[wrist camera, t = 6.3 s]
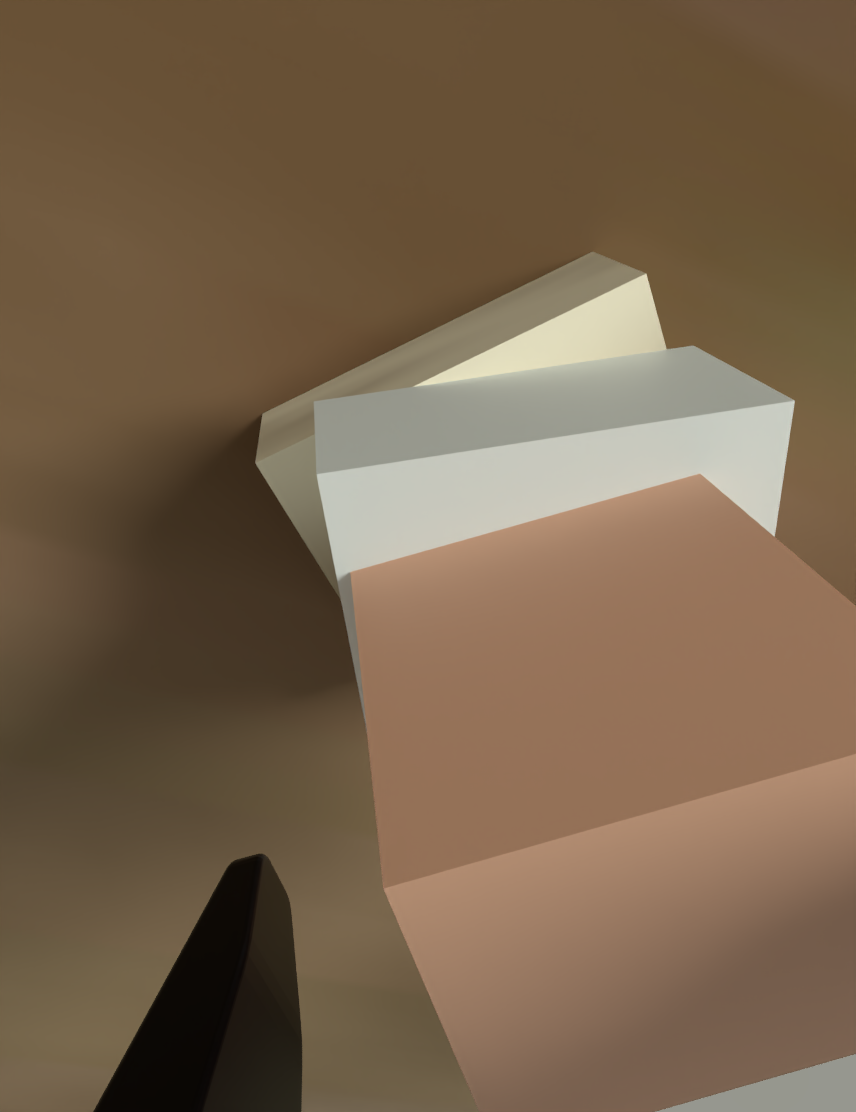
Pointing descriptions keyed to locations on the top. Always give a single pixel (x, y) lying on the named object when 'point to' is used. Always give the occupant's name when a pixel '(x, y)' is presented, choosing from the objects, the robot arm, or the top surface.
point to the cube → (618, 799)
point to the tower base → (467, 367)
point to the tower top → (537, 451)
